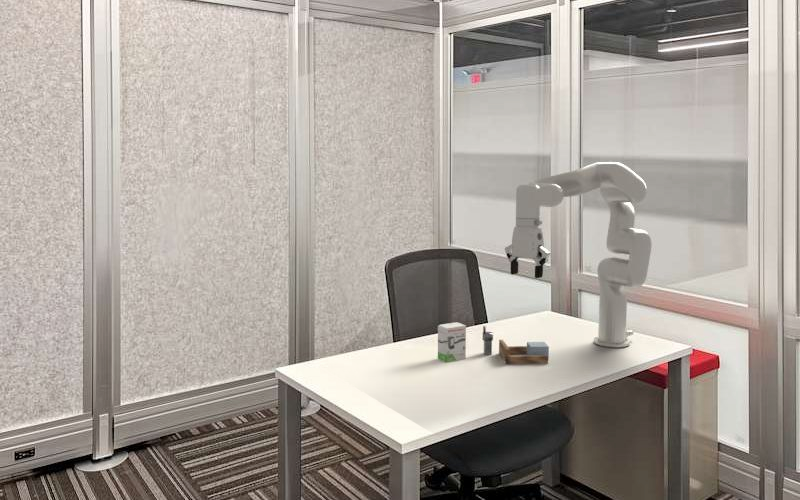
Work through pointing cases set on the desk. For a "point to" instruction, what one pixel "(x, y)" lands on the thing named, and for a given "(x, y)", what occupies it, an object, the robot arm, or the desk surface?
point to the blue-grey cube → (537, 348)
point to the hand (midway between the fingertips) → (526, 275)
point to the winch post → (487, 341)
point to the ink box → (451, 342)
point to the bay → (528, 359)
